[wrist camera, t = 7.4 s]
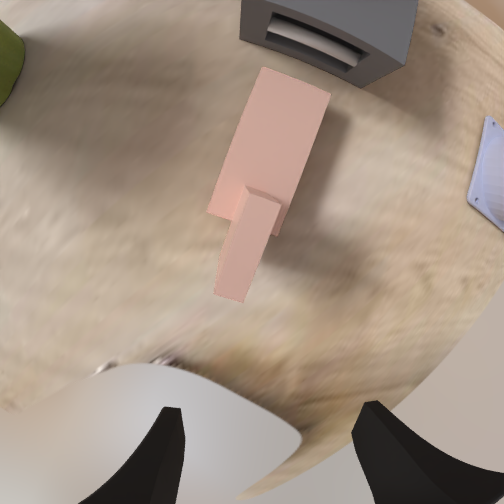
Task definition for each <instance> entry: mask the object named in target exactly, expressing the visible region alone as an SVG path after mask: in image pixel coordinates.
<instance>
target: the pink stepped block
mask: <svg viewBox="0 0 504 504" xmlns="http://www.w3.org/2000/svg"><path fill="white" fill-rule="evenodd" d="M330 97H331V94H330V93H328V92H326V91H324V90H321V89H319V88H317V87H315V86H312V85H310V84H308V83H305V82H303V81H301V80H298V79H296V78H293V77H291V76H288V75H286V74H283V73H280V72H278V71H275V70H272V69H269V68H267V67H264V66H262V68H261V70H260V73H259V75H258V77H257V80H256V82H255V84H254V87H253V89H252V92H251V94H250V96H249V99H248V101H247V104H246V106H245V109H244V111H243V114H242V116H241V119H240V121H239V124H238V126H237V129H236V132H235V134H234V137H233V139H232V142H231V145H230V147H229V150H228V153H227V155H226V158H225V161H224V164H223V166H222V169H221V172H220V175H219V177H218V180H217V183H216V186H215V189H214V191H213V194H212V197H211V200H210V203H209V206H208V209H207V213H210V214H213V215H216V216H219V217H222V218H225V219H228V220H231V224H230V227H229V230H228V232H227V235H226V238H225V241H224V244H223V247H222V249H221V252H220V255H219V261H218V268H217V274H216V280H215V287H214V293H213V294H215V295H218V296H222V297H225V298H228V299H231V300H234V301H238V302H241V303H244V300H245V297H246V295H247V292H248V290H249V287H250V285H251V282H252V280H253V277H254V275H255V272H256V269H257V267H258V264H259V262H260V259H261V257H262V254H263V252H264V249H265V246H266V244H267V241H268V239H269V236H270V234H271V235H274V236H277V237H278V234H279V232H280V229H281V227H282V224H283V222H284V219H285V216H286V214H287V211H288V209H289V206H290V204H291V201H292V198H293V196H294V193H295V191H296V188H297V185H298V183H299V180H300V177H301V175H302V172H303V170H304V167H305V164H306V162H307V159H308V156H309V154H310V151H311V148H312V146H313V143H314V140H315V138H316V135H317V132H318V130H319V127H320V124H321V122H322V119H323V116H324V113H325V111H326V108H327V105H328V102H329V100H330Z"/></svg>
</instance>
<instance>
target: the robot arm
mask: <svg viewBox="0 0 504 504" xmlns="http://www.w3.org/2000/svg"><path fill="white" fill-rule="evenodd" d="M475 199H476V201H475ZM467 201H468V203H469V204H471V205H472V206H473V207H474V208H476V209H477V210H478V211H479V212H481V213H482V214H483V215H484V216H485V217H487V218H488V219H489V220H490V221H491V222H493V223H494V224H495V225H496V226H497V227H498V228H499V229H501V230H502V231H503V232H504V130H503V129H502V127H501V126H500V125H499V124H498V123H497V122H496V121H495V120H494V119H493V118H492V117H491V116H486V117H485V122H484V128H483V133H482V138H481V143H480V148H479V152H478V156H477V161H476V165H475V169H474V172H473V176H472V180H471V183H470V187H469V190H468V194H467ZM351 434H352V438H353V443H354V447H355V451H356V454H357V456H358V459H359V462H360V464H361V467H362V469H363V471H364V474H365V476H366V479H367V481H368V484H369V486H370V489H371V491H372V494H373V497H374V501H375V504H495V503H496V502H498V501H499V500H500V499H501V498H502V497H503V496H504V473H500V472H494V471H490V470H485V469H482V468H479V467H476V466H473V465H470V464H467V463H465V462H462V461H460V460H458V459H455V458H453V457H452V456H450V455H448V454H446V453H444V452H442V451H441V450H439V449H437V448H436V447H434V446H433V445H431V444H430V443H428V442H427V441H426V440H424V439H423V438H421V437H420V436H419V435H417V434H416V433H415V432H414V431H412V430H411V429H410V428H409V427H407V426H406V425H405V424H404V423H403V422H402V421H400V420H399V419H398V418H397V417H396V416H395V415H393V414H392V413H391V412H390V411H389V410H388V409H387V408H386V407H385V406H383V405H382V404H381V403H380V402H379V401H378V400H376V401H370V402H364V405H363V407H362V410H361V412H360V414H359V417H358V419H357V421H356V423H355V425H354V428H353V430H352V432H351ZM184 451H185V433H184V427H183V421H182V414H181V409H180V408H173V407H163V408H162V410H161V412H160V414H159V416H158V417H157V419H156V421H155V422H154V424H153V426H152V427H151V429H150V430H149V432H148V434H147V435H146V436H145V438H144V439H143V441H142V442H141V443H140V445H139V446H138V447H137V449H136V450H135V451H134V453H133V454H132V455H131V456H130V457H129V459H128V460H127V461H126V462H125V463H124V465H123V466H122V467H121V468H120V469H119V470H118V471H117V472H116V473H115V474H114V475H113V476H112V477H111V478H110V479H109V480H108V481H107V482H106V483H104V484H103V485H102V486H101V487H100V488H99V489H98V490H96V491H95V492H94V493H93V494H91V495H90V496H89V497H87V498H86V499H84V500H83V501H81V502H80V503H78V504H175V503H176V498H177V493H178V487H179V482H180V477H181V472H182V467H183V462H184Z"/></svg>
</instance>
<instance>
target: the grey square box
mask: <svg viewBox="0 0 504 504" xmlns="http://www.w3.org/2000/svg"><path fill="white" fill-rule="evenodd" d="M417 6H418V0H242V1H241V18H240V36H239V39H241V40H244V41H248V42H251V43H254V44H257V45H260V46H263V47H266V48H269V49H272V50H275V51H278V52H281V53H283V54H286V55H289V56H291V57H294V58H296V59H299V60H301V61H304V62H306V63H309V64H311V65H313V66H316V67H318V68H320V69H322V70H325V71H327V72H329V73H331V74H333V75H335V76H337V77H339V78H341V79H344V80H346V81H348V82H349V83H351V84H353V85H355V86H357V87H359V88H363V87H365V86H366V85H368V84H370V83H372V82H374V81H376V80H377V79H379V78H381V77H383V76H385V75H387V74H389V73H391V72H393V71H395V70H397V69H399V68H401V67H402V66H404V65H405V62H406V58H407V54H408V49H409V45H410V41H411V36H412V32H413V27H414V22H415V17H416V11H417Z"/></svg>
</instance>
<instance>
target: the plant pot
mask: <svg viewBox="0 0 504 504" xmlns="http://www.w3.org/2000/svg"><path fill="white" fill-rule="evenodd" d="M24 53H25V49H24V44H23V41H22V39H21V38H20V37H19V36H18V35H17V34H16V33H14V32H13V31H12V30H11V29H10V28H9V27H8V26H7V25H6V24H4V23H3V22H2V21H1V20H0V106H1V105H2V104H3V103H4V102H5V100H6V99H7V98H8V96H9V95H10V93H11V90H12V86H13V84H14V82H15V80H16V79H17V77H18V76H19V74H20V72H21V69H22V65H23V61H24Z"/></svg>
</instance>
